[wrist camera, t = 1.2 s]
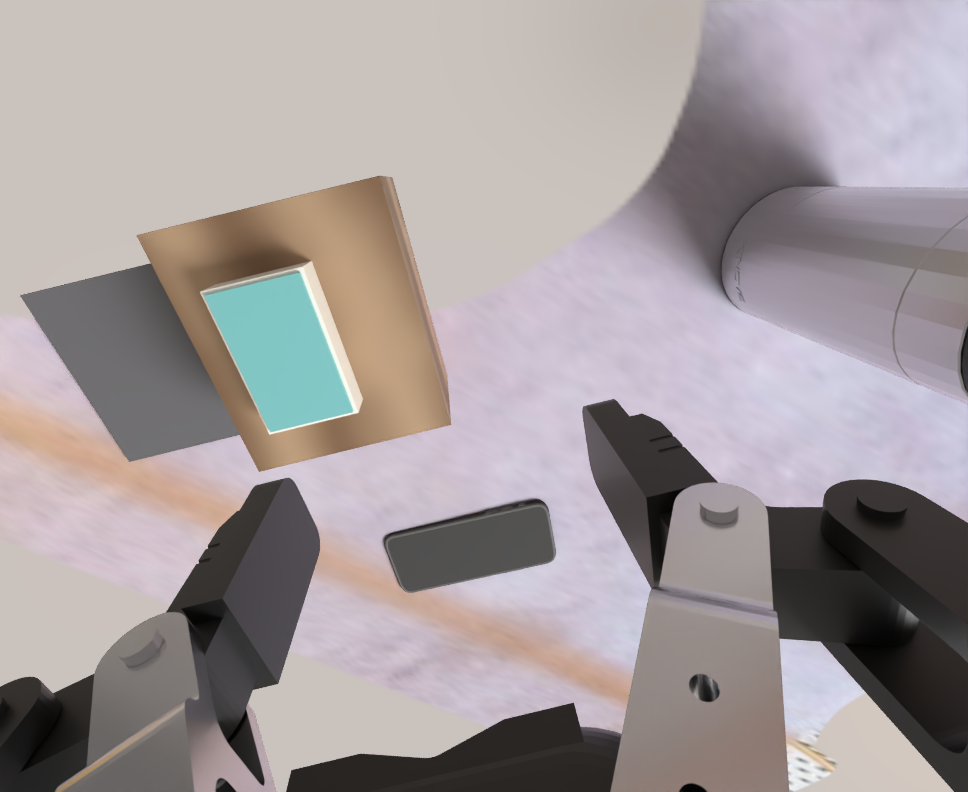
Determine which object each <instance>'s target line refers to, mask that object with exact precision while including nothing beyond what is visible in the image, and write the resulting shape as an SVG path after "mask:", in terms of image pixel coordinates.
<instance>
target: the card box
mask: <svg viewBox="0 0 968 792" xmlns="http://www.w3.org/2000/svg"><path fill="white" fill-rule="evenodd" d="M200 293H201V295H202V297H203V299H204V301H205V303H206V305H207V307H208V310H209V312H210V314H211V316H212V318H213V320H214V322H215V324H216V326H217V328H218V330H219V332H220V334H221V336H222V338H223V340H224V342H225V344H226V347H227V349H228V351H229V353H230V355H231V357H232V359H233V361H234V363H235V365H236V367H237V369H238V371H239V373H240V375H241V377H242V379H243V381H244V383H245V386H246V388H247V390H248V392H249V394H250V396H251V398H252V400H253V402H254V404H255V406H256V408H257V410H258V412H259V414H260V416H261V418H262V420H263V423H264V425H265V427H266V429H267V431H268V433H269V435H270V434H274V433H278V432H283V431H287V430H291V429H295V428H299V427H303V426H307V425H311V424H315V423H319V422H323V421H327V420H332V419H336V418H340V417H344V416H348V415H352V414H356V413H359V410H360V407H361V404H362V400H363V398H362V395H361V393H360V390H359V387H358V384H357V382H356V379H355V376H354V374H353V371H352V368H351V366H350V363H349V360H348V358H347V355H346V352H345V349H344V347H343V344H342V341H341V339H340V336H339V333H338V331H337V328H336V325H335V323H334V320H333V317H332V314H331V312H330V309H329V306H328V304H327V301H326V298H325V296H324V293H323V290H322V288H321V285H320V282H319V279H318V277H317V274H316V271H315V269H314V266H313V263H312V261H309V262H305V263H301V264H297V265H293V266H288V267H284V268H280V269H276V270H272V271H268V272H264V273H260V274H256V275H252V276H248V277H244V278H239V279H235V280H231V281H227V282H223V283H219V284H215V285H213V286H211V287H209V288H207V289H205V290H203V291H200Z"/></svg>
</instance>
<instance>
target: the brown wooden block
mask: <svg viewBox="0 0 968 792" xmlns="http://www.w3.org/2000/svg"><path fill="white" fill-rule="evenodd" d="M137 237H138V239H139V241H140V243H141V245H142V247H143V249H144V250H145V252H146V254H147V256H148V258H149V260H150V262H151V264H152V266H153V268H154V270H155V272H156V274H157V276H158V278H159V280H160V282H161V283H162V285H163V287H164V289H165V291H166V293H167V295H168V297H169V299H170V301H171V303H172V305H173V307H174V309H175V310H176V312H177V314H178V316H179V318H180V320H181V322H182V324H183V326H184V328H185V330H186V332H187V334H188V336H189V337H190V339H191V341H192V343H193V345H194V347H195V349H196V351H197V353H198V355H199V357H200V359H201V361H202V363H203V364H204V366H205V368H206V370H207V372H208V374H209V376H210V378H211V380H212V382H213V384H214V386H215V388H216V390H217V391H218V393H219V395H220V397H221V399H222V401H223V403H224V405H225V407H226V409H227V411H228V413H229V415H230V417H231V418H232V420H233V422H234V424H235V426H236V428H237V430H238V432H239V434H240V436H241V438H242V440H243V442H244V444H245V445H246V447H247V449H248V451H249V453H250V455H251V457H252V459H253V461H254V463H255V465H256V467H257V469H258V471H259V472H260V471H264V470H268V469H272V468H276V467H280V466H285V465H289V464H293V463H297V462H301V461H305V460H309V459H313V458H317V457H321V456H325V455H330V454H334V453H338V452H342V451H346V450H350V449H354V448H358V447H362V446H366V445H370V444H374V443H379V442H383V441H387V440H391V439H395V438H399V437H403V436H407V435H411V434H415V433H419V432H424V431H428V430H432V429H436V428H440V427H444V426H448V425H451V418H450V405H449V393H448V380H447V373H446V370H445V366H444V362H443V359H442V355H441V352H440V348H439V344H438V341H437V337H436V333H435V330H434V326H433V323H432V319H431V315H430V312H429V308H428V305H427V301H426V297H425V294H424V290H423V287H422V283H421V280H420V276H419V272H418V269H417V265H416V261H415V258H414V254H413V251H412V247H411V244H410V240H409V236H408V233H407V229H406V225H405V222H404V218H403V215H402V211H401V207H400V204H399V200H398V197H397V193H396V189H395V186H394V182H393V179H392V178H391V177H383V176H377V177H373V178H369V179H364V180H360V181H356V182H352V183H348V184H345V185H340V186H336V187H332V188H328V189H324V190H320V191H316V192H311V193H307V194H303V195H299V196H295V197H291V198H287V199H283V200H279V201H275V202H271V203H267V204H262V205H258V206H255V207H250V208H247V209H242V210H238V211H234V212H230V213H226V214H222V215H218V216H213V217H209V218H206V219H202V220H197V221H193V222H189V223H185V224H181V225H177V226H173V227H169V228H165V229H161V230H157V231H152V232H148V233H144V234H140V235H137ZM309 261H312V263H313V266H314V269H315V271H316V274H317V277H318V279H319V282H320V285H321V288H322V290H323V293H324V296H325V298H326V301H327V304H328V306H329V309H330V312H331V314H332V317H333V320H334V323H335V325H336V328H337V331H338V333H339V336H340V339H341V341H342V344H343V347H344V349H345V352H346V355H347V358H348V360H349V363H350V366H351V368H352V371H353V374H354V376H355V379H356V382H357V384H358V387H359V390H360V393H361V395H362V398H363V400H362V404H361V407H360V410H359V413H356V414H352V415H348V416H344V417H340V418H336V419H332V420H327V421H323V422H319V423H315V424H311V425H307V426H303V427H299V428H295V429H291V430H287V431H283V432H278V433H274V434H270V435H269V433H268V431H267V429H266V427H265V425H264V423H263V420H262V418H261V416H260V414H259V412H258V410H257V408H256V406H255V404H254V402H253V400H252V398H251V396H250V394H249V392H248V390H247V388H246V386H245V383H244V381H243V379H242V377H241V375H240V373H239V371H238V369H237V367H236V365H235V363H234V361H233V359H232V357H231V355H230V353H229V351H228V349H227V347H226V344H225V342H224V340H223V338H222V336H221V334H220V332H219V330H218V328H217V326H216V324H215V322H214V320H213V318H212V316H211V314H210V312H209V310H208V307H207V305H206V303H205V301H204V299H203V297H202V295H201V293H200V291H203V290H205V289H207V288H209V287H211V286H213V285H215V284H219V283H223V282H227V281H231V280H235V279H239V278H244V277H248V276H252V275H256V274H260V273H264V272H268V271H272V270H276V269H280V268H284V267H288V266H293V265H297V264H301V263H305V262H309Z"/></svg>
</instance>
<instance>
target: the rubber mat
mask: <svg viewBox="0 0 968 792" xmlns="http://www.w3.org/2000/svg"><path fill="white" fill-rule="evenodd" d="M21 297H22V299H23V301H24V302H25V304H26V305H27V307H28V308H29V310H30V311H31V313H32V314H33V316H34V317H35V319H36V320H37V322H38V323H39V325H40V327H41V328H42V330H43V331H44V333H45V334H46V336H47V337H48V339H49V340H50V342H51V343H52V345H53V346H54V348H55V349H56V351H57V352H58V354H59V355H60V357H61V359H62V360H63V362H64V363H65V365H66V366H67V368H68V369H69V371H70V372H71V374H72V375H73V377H74V378H75V380H76V381H77V383H78V384H79V386H80V387H81V389H82V390H83V392H84V394H85V395H86V397H87V398H88V400H89V401H90V403H91V404H92V406H93V407H94V409H95V410H96V412H97V413H98V415H99V416H100V418H101V419H102V421H103V422H104V424H105V425H106V427H107V429H108V430H109V432H110V433H111V435H112V436H113V438H114V439H115V441H116V442H117V444H118V445H119V447H120V448H121V450H122V451H123V453H124V454H125V456H126V457H127V459H128V460H129V462H130V461H134V460H139V459H143V458H147V457H151V456H155V455H159V454H163V453H167V452H171V451H175V450H179V449H183V448H188V447H192V446H196V445H200V444H204V443H208V442H212V441H216V440H220V439H224V438H228V437H232V436H237V435H240V434H239V432H238V430H237V428H236V426H235V424H234V422H233V420H232V418H231V417H230V415H229V413H228V411H227V409H226V407H225V405H224V403H223V401H222V399H221V397H220V395H219V393H218V391H217V390H216V388H215V386H214V384H213V382H212V380H211V378H210V376H209V374H208V372H207V370H206V368H205V366H204V364H203V363H202V361H201V359H200V357H199V355H198V353H197V351H196V349H195V347H194V345H193V343H192V341H191V339H190V337H189V336H188V334H187V332H186V330H185V328H184V326H183V324H182V322H181V320H180V318H179V316H178V314H177V312H176V310H175V309H174V307H173V305H172V303H171V301H170V299H169V297H168V295H167V293H166V291H165V289H164V287H163V285H162V283H161V282H160V280H159V278H158V276H157V274H156V272H155V270H154V268H153V266H152V264H147V265H143V266H139V267H135V268H130V269H126V270H122V271H118V272H114V273H110V274H106V275H102V276H98V277H94V278H90V279H85V280H81V281H78V282H73V283H69V284H65V285H61V286H57V287H53V288H49V289H45V290H41V291H37V292H32V293H28V294H24V295H21Z"/></svg>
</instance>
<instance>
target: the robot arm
mask: <svg viewBox="0 0 968 792" xmlns="http://www.w3.org/2000/svg"><path fill="white" fill-rule="evenodd" d="M721 271H722V281H723V285H724V288H725V291H726V294H727V295H728V297H729V298H730V300H731V301H732V303H733V304H734V305H736V306H737V307H738V308H739V309H740V310H742V311H744V312H746V313H748V314H750V315H753V316H755V317H757V318H760V319H762V320H765V321H767V322H769V323H772V324H774V325H777V326H779V327H781V328H783V329H786V330H788V331H790V332H793V333H795V334H798V335H800V336H803V337H805V338H807V339H810V340H812V341H815V342H817V343H819V344H822V345H824V346H827V347H829V348H832V349H834V350H836V351H839V352H841V353H844V354H846V355H848V356H851V357H853V358H856V359H858V360H861V361H863V362H865V363H868V364H870V365H873V366H875V367H877V368H880V369H882V370H885V371H887V372H890V373H892V374H894V375H897V376H899V377H902V378H904V379H906V380H909V381H911V382H914V383H916V384H919V385H922V386H924V387H927V388H929V389H931V390H934V391H936V392H939V393H941V394H944V395H946V396H948V397H951V398H953V399H956V400H958V401H960V402H963V403H965V404H968V188H921V187H790V188H786V189H781V190H779V191H776V192H774V193H772V194H770V195H768V196H766V197H765V198H763V199H762V200H760V201H759V202H757V203H756V204H755V205H753V206H752V207H751V208H750V209H749V210H748V211H747V212H746V213H745V214H744V215H743V217H742V218H741V219H740V221H739V222H738V224H737V225H736V226H735V228H734V229H733V231H732V233H731V235H730V237H729V239H728V241H727V244H726V247H725V251H724V254H723V259H722V269H721ZM582 412H583V421H584V428H585V434H586V441H587V448H588V455H589V461H590V466H591V470H592V474H593V477H594V480H595V483H596V485H597V487H598V489H599V491H600V493H601V495H602V497H603V498H604V500H605V502H606V504H607V506H608V508H609V510H610V512H611V513H612V515H613V517H614V519H615V521H616V523H617V525H618V527H619V528H620V530H621V532H622V534H623V536H624V538H625V540H626V542H627V543H628V545H629V547H630V549H631V551H632V553H633V555H634V557H635V558H636V560H637V562H638V564H639V566H640V568H641V570H642V572H643V573H644V575H645V577H646V579H647V581H648V583H649V585H650V587H651V588H652V589H651V591H650V595H649V598H648V603H647V608H646V613H645V618H644V624H643V629H642V634H641V639H640V644H639V649H638V654H637V659H636V664H635V669H634V674H633V680H632V685H631V690H630V695H629V700H628V705H627V710H626V715H625V720H624V725H623V731H622V734H620V733H617V732H614V731H609V730H604V729H599V728H591V727H580V724H579V721H578V717H577V713H576V709H575V706H574V703H571V704H567V705H562V706H558V707H554V708H550V709H546V710H542V711H537V712H533V713H529V714H525V715H521V716H516V717H512V718H508V719H504V720H502V721H500V722H499V723H497V724H495V725H493V726H491V727H489V728H488V729H486V730H484V731H483V732H480V733H478V734H477V735H475V736H473V737H471V738H469V739H467V740H466V741H464V742H462V743H460V744H458V745H456V746H455V747H453V748H451V749H449V750H447V751H446V752H444V753H442V754H440V755H438V756H435V757H432V758H413V757H399V756H386V755H370V754H358V755H353V756H349V757H345V758H341V759H336V760H333V761H329V762H324V763H320V764H316V765H311V766H307V767H303V768H299V769H295V770H292V771H291V775H290V778H289V782H288V786H287V791H286V792H789V782H788V766H787V751H786V735H785V720H784V704H783V689H782V673H781V658H780V642H779V638H780V639H794V640H807V641H821V643H822V644H823V645H824V646H825V647H826V648H827V649H828V650H829V652H830V653H831V654H832V655H833V656H834V657H835V658H836V659H837V661H838V662H839V663H840V664H841V665H842V666H843V667H844V668H845V669H846V671H847V672H848V673H849V674H850V675H851V676H852V677H853V678H854V680H855V681H856V682H857V683H858V684H859V685H860V686H861V687H862V689H863V690H864V691H865V692H866V693H867V694H868V695H869V696H870V698H871V699H872V700H873V701H874V702H875V703H876V704H877V705H878V707H879V708H880V709H881V710H882V711H883V712H884V713H885V714H886V716H887V717H888V718H889V719H890V720H891V721H892V722H893V723H894V725H895V726H896V727H897V728H898V729H899V730H900V731H901V732H902V733H903V735H904V736H905V737H906V738H907V739H908V740H909V741H910V742H911V743H912V745H913V746H914V747H915V748H916V749H917V750H918V752H919V753H920V754H921V755H922V756H923V757H924V758H925V759H926V761H927V762H928V763H929V764H930V765H931V766H932V767H933V768H934V769H935V771H936V772H937V773H938V774H939V775H940V776H941V777H942V779H943V780H944V781H945V782H946V783H947V784H948V785H949V786H950V787H951V789H952V790H953V791H954V792H968V523H967V522H965V521H964V520H962V519H960V518H959V517H957V516H955V515H954V514H952V513H951V512H949V511H947V510H946V509H944V508H942V507H941V506H939V505H937V504H936V503H934V502H932V501H931V500H929V499H927V498H926V497H924V496H922V495H921V494H919V493H917V492H915V491H913V490H910V489H908V488H905V487H902V486H899V485H896V484H892V483H888V482H883V481H877V480H849V481H844V482H840V483H838V484H835V485H833V486H832V487H830V488H829V489H828V490H827V491H826V493H825V495H824V500H823V507H769V506H765V505H764V503H763V502H762V501H761V500H760V499H759V498H758V497H757V496H756V495H754V494H753V493H751V492H749V491H747V490H745V489H743V488H741V487H738V486H734V485H730V484H725V483H718V482H717V481H716V480H715V479H714V478H713V477H712V476H711V475H710V474H709V473H708V471H707V470H706V469H705V468H704V467H703V466H702V465H701V464H700V463H699V462H698V461H697V460H696V459H695V458H694V457H693V456H692V455H691V453H690V452H689V451H688V450H687V449H686V448H685V447H682V444H681V443H680V442H679V441H678V440H677V439H676V438H675V437H673V435H672V433H671V432H670V431H669V430H668V429H667V428H666V427H665V426H664V425H663V424H662V423H661V422H660V421H657V420H655V419H653V418H651V417H648V416H646V415H644V414H639V415H635V416H630V417H629V415H628V414H627V413H626V412H625V411H624V409H623V408H622V407H621V406H620V405H619V403H618V402H617V401H616V400H615V399H612V400H608V401H604V402H600V403H596V404H591V405H587V406H584V407H583V411H582ZM319 551H320V538H319V533H318V530H317V527H316V525H315V523H314V521H313V519H312V517H311V515H310V513H309V510H308V508H307V506H306V504H305V502H304V500H303V498H302V496H301V494H300V492H299V490H298V488H297V486H296V484H295V483H294V481H293V480H292V479H290V478H285V479H280V480H276V481H272V482H268V483H264V484H260V485H256V486H255V487H254V488H253V489H252V491H251V492H250V494H249V496H248V497H247V499H246V501H245V503H244V504H243V506H242V508H241V509H240V511H237V512H236V513H235V514H234V515H233V516H231V517H230V518H229V519H228V520H227V521H226V522H225V523H224V524H223V525H222V526H221V527H220V528H219V529H218V531H217V532H216V534H215V535H214V537H213V538H212V540H211V542H210V543H209V545H208V549H206V550H205V551H204V553H203V554H202V556H201V558H200V559H199V564H196V566H195V567H194V569H193V570H192V572H191V574H190V575H189V577H188V578H187V580H186V581H185V583H184V585H183V586H182V588H181V589H180V591H179V593H178V594H177V596H176V597H175V599H174V601H173V602H172V604H171V605H170V607H169V609H168V610H167V612H166V613H163V614H160V615H157V616H155V617H152V618H150V619H148V620H146V621H144V622H142V623H141V624H139V625H137V626H136V627H134V628H133V629H131V630H130V631H129V632H127V633H126V634H125V635H124V636H122V637H121V638H120V639H119V640H118V641H117V642H116V643H115V644H114V645H113V646H112V647H111V648H110V649H109V650H108V651H107V652H106V654H105V655H104V656H103V658H102V659H101V661H100V662H99V664H98V666H97V668H96V671H95V674H93V675H91V676H88V677H86V678H84V679H82V680H80V681H79V682H76V683H74V684H72V685H70V686H68V687H66V688H63V689H61V690H59V691H57V692H55V693H52V692H51V691H50V690H49V689H48V688H47V687H46V686H45V685H44V684H43V683H42V682H41V681H40V680H39V679H38V678H35V677H24V678H20V679H17V680H14V681H12V682H9V683H7V684H5V685H3V686H1V687H0V792H276V789H275V785H274V782H273V778H272V774H271V771H270V767H269V763H268V760H267V756H266V753H265V749H264V745H263V742H262V738H261V735H260V731H259V727H258V724H257V720H256V716H255V714H254V711H253V710H252V708H251V707H250V706H249V705H248V701H249V698H250V696H251V693H252V690H254V689H259V688H263V687H267V686H271V685H275V684H278V683H279V679H280V676H281V673H282V670H283V667H284V664H285V660H286V657H287V654H288V651H289V648H290V645H291V641H292V638H293V635H294V632H295V629H296V626H297V622H298V619H299V616H300V613H301V610H302V606H303V603H304V600H305V597H306V594H307V591H308V587H309V584H310V581H311V578H312V575H313V571H314V568H315V565H316V562H317V559H318V556H319Z"/></svg>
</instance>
